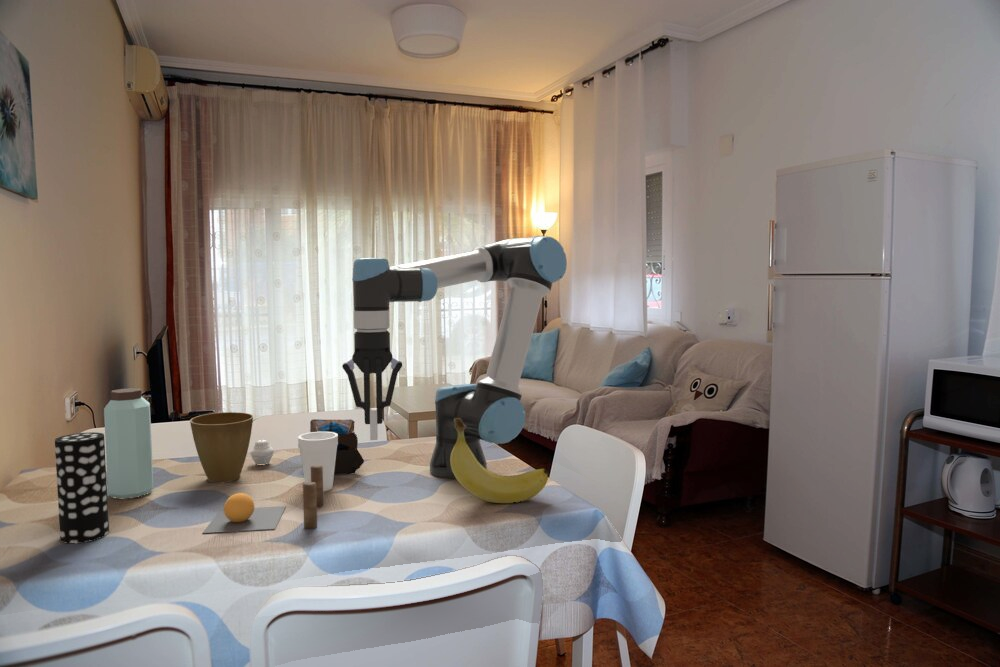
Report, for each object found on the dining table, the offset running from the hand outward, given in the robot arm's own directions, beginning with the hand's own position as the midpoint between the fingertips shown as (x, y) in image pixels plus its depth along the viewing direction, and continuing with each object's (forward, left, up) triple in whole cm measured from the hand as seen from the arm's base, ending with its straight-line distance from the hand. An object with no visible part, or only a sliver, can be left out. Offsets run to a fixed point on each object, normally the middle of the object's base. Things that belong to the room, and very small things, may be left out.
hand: (374, 438), depth 146 cm
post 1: (+13, +7, -16) cm, 22 cm away
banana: (-28, -2, -17) cm, 33 cm away
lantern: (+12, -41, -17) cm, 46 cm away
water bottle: (+58, -23, -17) cm, 65 cm away
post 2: (+13, -6, -16) cm, 22 cm away
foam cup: (+14, -20, -17) cm, 30 cm away
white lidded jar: (+32, -45, -17) cm, 58 cm away
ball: (+28, +1, -13) cm, 31 cm away
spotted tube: (+57, +4, -17) cm, 60 cm away
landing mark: (+27, 0, -16) cm, 32 cm away
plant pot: (+39, -32, -17) cm, 53 cm away
